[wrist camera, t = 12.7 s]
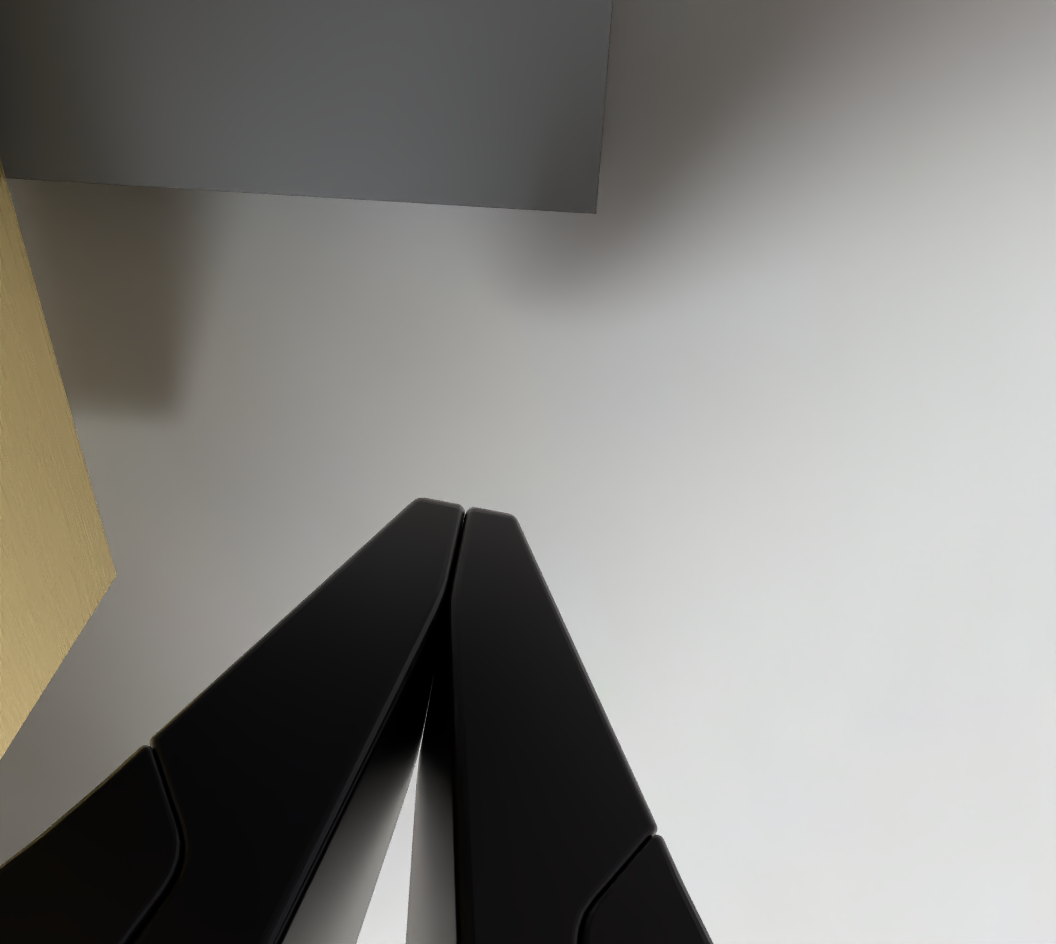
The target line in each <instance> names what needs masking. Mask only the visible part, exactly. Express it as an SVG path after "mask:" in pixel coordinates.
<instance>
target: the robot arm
mask: <svg viewBox="0 0 1056 944" xmlns="http://www.w3.org/2000/svg"><path fill="white" fill-rule="evenodd" d="M464 515H465V517H464ZM463 521H464V522H463ZM427 709H428V710H427ZM426 714H427V716H426ZM425 719H426V721H425ZM424 724H425V727H424ZM423 729H424V732H423ZM422 734H423V738H422ZM421 738H422V744H421V750H420V756H419V764H418V774H417V784H416V797H415V812H414V827H413V842H412V857H411V872H410V887H409V903H408V918H407V933H406V944H713V942H712V940H711V938H710V936H709V934H708V932H707V930H706V928H705V926H704V924H703V922H702V920H701V918H700V916H699V914H698V912H697V910H696V908H695V906H694V904H693V902H692V900H691V898H690V896H689V894H688V892H687V889H686V887H685V885H684V883H683V881H682V879H681V877H680V874H679V872H678V870H677V868H676V866H675V863H674V861H673V859H672V857H671V855H670V852H669V850H668V848H667V846H666V843H665V841H664V839H663V838H662V837H661V836H660V835H655V834H656V832H657V825H656V823H655V820H654V818H653V816H652V814H651V812H650V810H649V807H648V805H647V803H646V801H645V799H644V796H643V794H642V792H641V790H640V788H639V785H638V783H637V781H636V779H635V777H634V774H633V772H632V770H631V768H630V766H629V764H628V761H627V759H626V757H625V755H624V753H623V750H622V748H621V746H620V744H619V742H618V739H617V737H616V735H615V733H614V731H613V728H612V726H611V724H610V722H609V720H608V717H607V715H606V713H605V711H604V709H603V707H602V704H601V702H600V700H599V698H598V696H597V693H596V691H595V689H594V687H593V685H592V682H591V680H590V678H589V676H588V674H587V671H586V669H585V667H584V665H583V663H582V660H581V658H580V656H579V654H578V652H577V650H576V647H575V645H574V643H573V641H572V639H571V636H570V634H569V632H568V630H567V628H566V625H565V623H564V621H563V619H562V617H561V614H560V612H559V610H558V608H557V606H556V603H555V601H554V599H553V597H552V595H551V593H550V590H549V588H548V586H547V584H546V582H545V579H544V577H543V575H542V573H541V571H540V568H539V566H538V564H537V562H536V560H535V557H534V555H533V553H532V551H531V549H530V547H529V544H528V542H527V540H526V538H525V536H524V533H523V531H522V529H521V527H520V525H519V523H518V521H517V519H516V518H515V517H514V516H513V515H511V514H508V513H503V512H497V511H492V510H487V509H481V508H476V507H473V508H470V509H468V511H467V512H466V514H465V511H464V509H463V507H462V506H461V505H459V504H455V503H450V502H444V501H439V500H434V499H429V498H418V499H415V500H414V501H413V502H411V503H410V504H409V505H408V506H407V507H406V508H405V509H404V510H403V511H401V512H400V513H399V514H398V515H397V516H396V517H395V518H394V519H393V520H391V521H390V522H389V523H388V524H387V525H386V526H385V527H384V528H383V529H382V530H380V531H379V532H378V533H377V534H376V535H375V536H374V537H373V538H372V539H371V540H369V541H368V542H367V543H366V544H365V545H364V546H363V547H362V548H361V549H359V550H358V551H357V552H356V553H355V554H354V555H353V556H352V557H351V558H350V559H348V560H347V561H346V562H345V563H344V564H343V565H342V566H341V567H340V568H339V569H337V570H336V571H335V572H334V573H333V574H332V575H331V576H330V577H329V578H327V579H326V580H325V581H324V582H323V583H322V584H321V585H320V586H319V587H318V588H316V589H315V590H314V591H313V592H312V593H311V594H310V595H309V596H308V597H307V598H305V599H304V600H303V601H302V602H301V603H300V604H299V605H298V606H297V607H295V608H294V609H293V610H292V611H291V612H290V613H289V614H288V615H287V616H286V617H284V618H283V619H282V620H281V621H280V622H279V623H278V624H277V625H276V626H275V627H273V628H272V629H271V630H270V631H269V632H268V633H267V634H266V635H265V636H264V637H262V638H261V639H260V640H259V641H258V642H257V643H256V644H255V645H254V646H252V647H251V648H250V649H249V650H248V651H247V652H246V653H245V654H244V655H243V656H241V657H240V658H239V659H238V660H237V661H236V662H235V663H234V664H233V665H232V666H230V667H229V668H228V669H227V670H226V671H225V672H224V673H223V674H222V675H220V676H219V677H218V678H217V679H216V680H215V681H214V682H213V683H212V684H211V685H209V686H208V687H207V688H206V689H205V690H204V691H203V692H202V693H201V694H200V695H198V696H197V697H196V698H195V699H194V700H193V701H192V702H191V703H190V704H188V705H187V706H186V707H185V708H184V709H183V710H182V711H181V712H180V713H179V714H177V715H176V716H175V717H174V718H173V719H172V720H171V721H170V722H169V723H168V724H166V725H165V726H164V727H163V728H162V729H161V730H160V731H159V732H158V733H157V734H155V735H154V736H153V737H152V738H151V740H150V746H147V745H145V746H142V747H140V748H139V749H138V750H137V751H136V752H135V753H134V754H133V755H131V756H130V757H129V758H128V759H127V760H126V761H125V762H124V763H123V764H122V765H121V766H119V767H118V768H117V769H116V770H115V771H114V772H113V773H112V774H111V775H110V776H109V777H107V778H106V779H105V780H104V781H103V782H102V783H101V784H100V785H98V786H97V787H96V788H95V789H94V790H93V791H91V792H90V793H89V794H88V795H87V796H86V797H84V798H83V799H82V800H81V801H80V802H79V803H77V804H76V805H75V806H74V807H73V808H72V809H70V810H69V811H68V812H67V813H66V814H65V815H63V816H62V817H61V818H60V819H59V820H58V821H56V822H55V823H54V824H53V825H52V826H51V827H49V828H48V829H47V830H46V831H45V832H43V833H42V834H41V835H40V836H39V837H38V838H36V839H35V840H34V841H33V842H31V843H30V844H29V845H27V846H26V847H25V848H23V849H22V850H21V851H20V852H18V853H17V854H16V855H14V856H13V857H12V858H10V859H9V860H8V861H6V862H5V863H4V864H3V865H1V866H0V944H356V942H357V939H358V936H359V933H360V930H361V927H362V924H363V921H364V918H365V915H366V912H367V909H368V906H369V903H370V900H371V897H372V894H373V891H374V888H375V885H376V882H377V879H378V876H379V873H380V870H381V867H382V864H383V861H384V858H385V855H386V852H387V849H388V846H389V843H390V840H391V837H392V834H393V832H394V829H395V826H396V823H397V820H398V817H399V814H400V811H401V808H402V805H403V802H404V799H405V796H406V793H407V790H408V787H409V783H410V780H411V777H412V773H413V770H414V767H415V763H416V760H417V756H418V751H419V747H420V743H421Z"/></svg>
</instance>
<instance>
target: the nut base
mask: <svg viewBox="0 0 1056 944" xmlns="http://www.w3.org/2000/svg"><path fill="white" fill-rule="evenodd" d="M612 1H613V0H0V159H1V163H2V167H3V170H4V174H5V177H6V178H15V179H31V180H48V181H64V182H81V183H97V184H113V185H130V186H146V187H163V188H179V189H196V190H212V191H229V192H245V193H262V194H278V195H294V196H311V197H327V198H344V199H360V200H377V201H393V202H410V203H426V204H442V205H459V206H475V207H492V208H508V209H525V210H541V211H558V212H574V213H590V214H596V206H597V194H598V181H599V168H600V155H601V142H602V129H603V116H604V104H605V91H606V78H607V65H608V52H609V39H610V27H611V14H612Z"/></svg>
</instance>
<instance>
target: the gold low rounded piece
mask: <svg viewBox="0 0 1056 944" xmlns="http://www.w3.org/2000/svg"><path fill="white" fill-rule="evenodd" d="M115 577H116V572H115V568H114V565H113V561H112V558H111V554H110V550H109V547H108V543H107V540H106V536H105V532H104V529H103V525H102V522H101V518H100V515H99V511H98V507H97V504H96V500H95V497H94V493H93V489H92V486H91V482H90V479H89V475H88V471H87V468H86V464H85V461H84V457H83V454H82V450H81V446H80V443H79V439H78V436H77V432H76V428H75V425H74V421H73V418H72V414H71V411H70V407H69V403H68V400H67V396H66V393H65V389H64V385H63V382H62V378H61V375H60V371H59V367H58V364H57V360H56V357H55V353H54V350H53V346H52V342H51V339H50V335H49V332H48V328H47V324H46V321H45V317H44V314H43V310H42V307H41V303H40V299H39V296H38V292H37V289H36V285H35V281H34V278H33V274H32V271H31V267H30V263H29V260H28V256H27V253H26V249H25V246H24V242H23V238H22V235H21V231H20V228H19V224H18V220H17V217H16V213H15V210H14V206H13V202H12V199H11V195H10V192H9V188H8V185H7V181H6V177H5V174H4V170H3V167H2V163H1V159H0V759H1V758H2V756H3V755H4V753H5V752H6V750H7V748H8V747H9V745H10V744H11V742H12V740H13V739H14V737H15V736H16V734H17V733H18V731H19V729H20V728H21V726H22V725H23V723H24V721H25V720H26V718H27V717H28V715H29V713H30V712H31V710H32V709H33V707H34V706H35V704H36V702H37V701H38V699H39V698H40V696H41V694H42V693H43V691H44V690H45V688H46V687H47V685H48V683H49V682H50V680H51V679H52V677H53V675H54V674H55V672H56V671H57V669H58V667H59V666H60V664H61V663H62V661H63V660H64V658H65V656H66V655H67V653H68V652H69V650H70V648H71V647H72V645H73V644H74V642H75V641H76V639H77V637H78V636H79V634H80V633H81V631H82V629H83V628H84V626H85V625H86V623H87V621H88V620H89V618H90V617H91V615H92V614H93V612H94V610H95V609H96V607H97V606H98V604H99V602H100V601H101V599H102V598H103V596H104V595H105V593H106V591H107V590H108V588H109V587H110V585H111V583H112V582H113V580H114V579H115Z"/></svg>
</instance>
